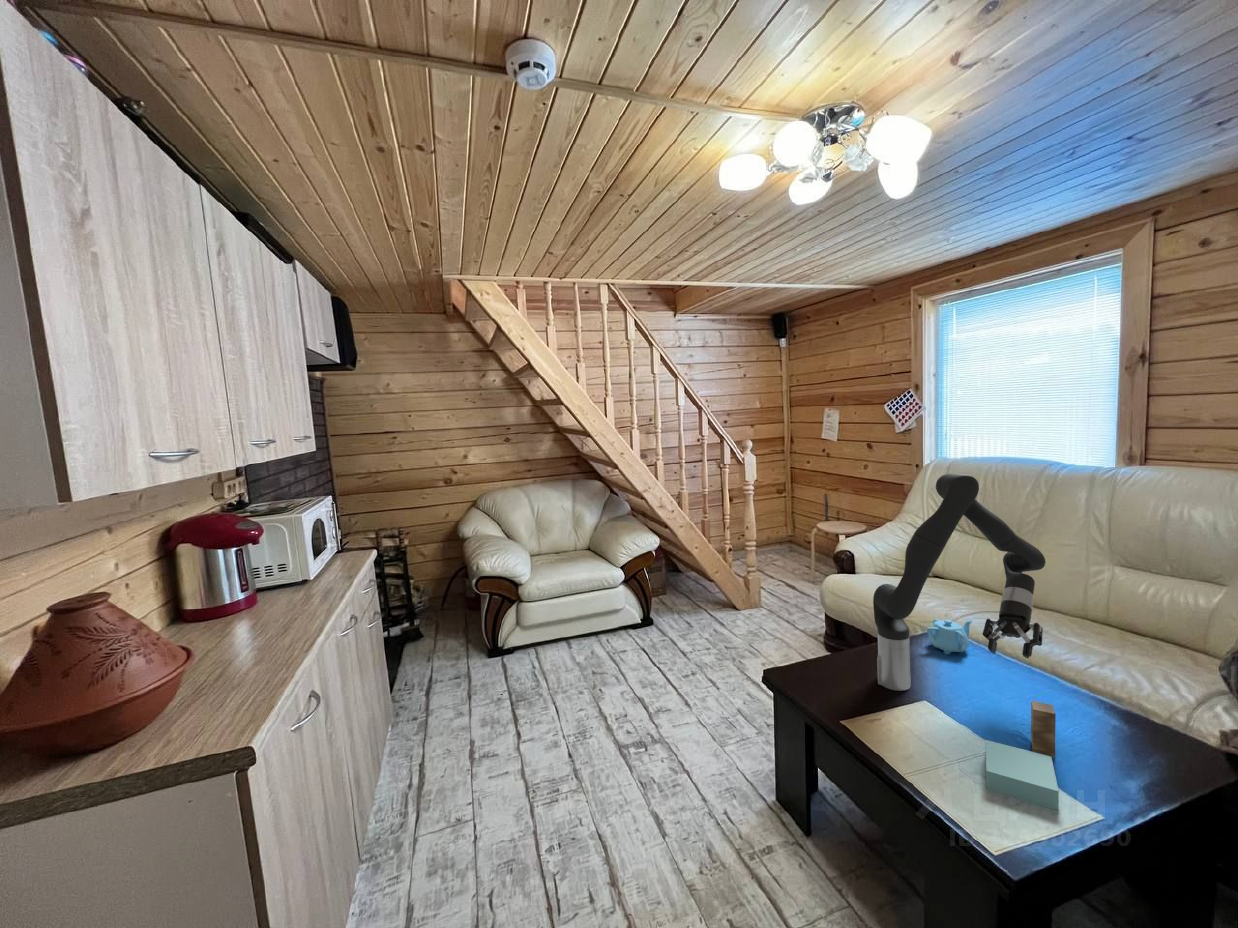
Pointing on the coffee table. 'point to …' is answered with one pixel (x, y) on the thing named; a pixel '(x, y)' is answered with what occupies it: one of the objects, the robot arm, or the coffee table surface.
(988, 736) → the coffee table surface
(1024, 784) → the teal block
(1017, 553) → the robot arm
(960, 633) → the teapot
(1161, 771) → the coffee table surface
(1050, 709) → the walnut pillar
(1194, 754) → the coffee table surface
